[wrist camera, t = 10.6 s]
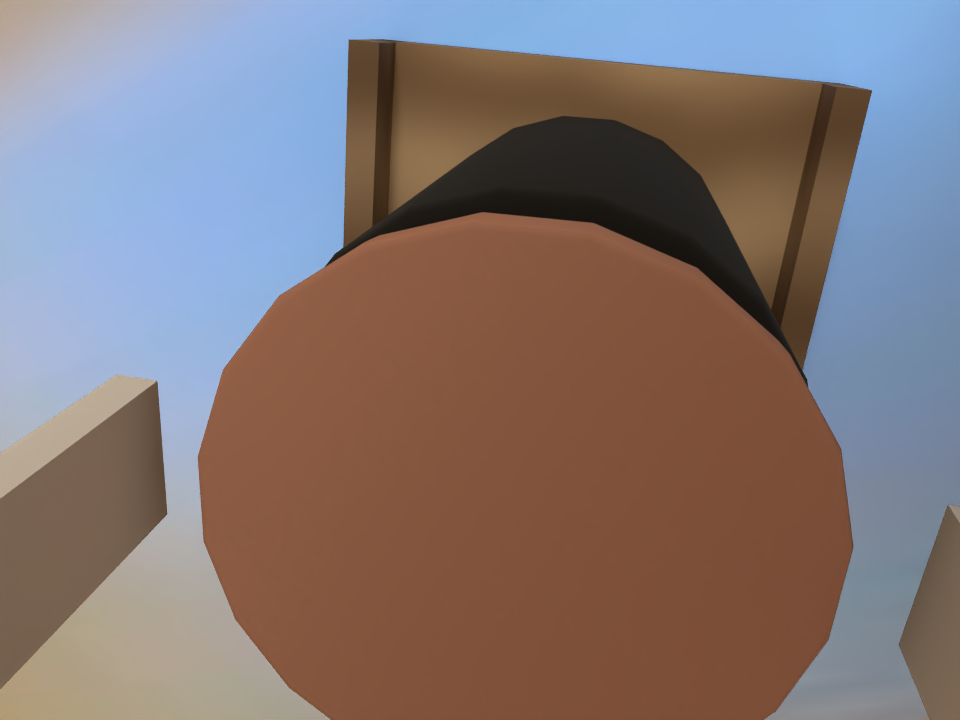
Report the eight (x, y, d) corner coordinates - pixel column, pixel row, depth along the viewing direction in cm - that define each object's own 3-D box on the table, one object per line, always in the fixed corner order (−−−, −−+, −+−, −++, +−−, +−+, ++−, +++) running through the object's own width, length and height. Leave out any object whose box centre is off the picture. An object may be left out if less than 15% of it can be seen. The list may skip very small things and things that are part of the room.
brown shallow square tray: (383, 39, 30) (348, 39, 27) (840, 83, 28) (871, 90, 25) (368, 412, 36) (338, 455, 32) (749, 471, 34) (763, 524, 30)
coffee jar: (496, 436, 33) (359, 838, 16) (381, 182, 30) (76, 360, 14) (767, 350, 30) (936, 737, 13) (669, 59, 27) (729, 91, 10)
